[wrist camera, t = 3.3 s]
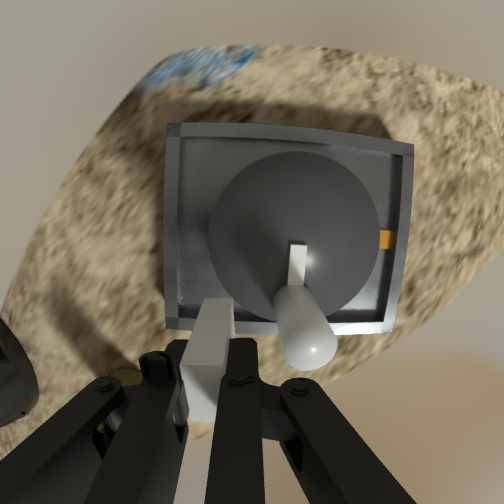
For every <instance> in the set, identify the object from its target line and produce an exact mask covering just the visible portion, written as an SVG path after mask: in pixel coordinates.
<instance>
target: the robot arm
mask: <svg viewBox="0 0 504 504" xmlns="http://www.w3.org/2000/svg"><path fill="white" fill-rule="evenodd" d="M138 360H139V364H140V368H141V372H142V376H143V379H142V381H141V383H140V384H137V385H130V386H122V382H121V381H120V380H119V379H118V378H116V377H111V376H104V377H100V378H97V379H95V380H94V381H92V382H91V383H90V384H88V385H87V386H86V387H85V388H84V389H83V390H81V391H80V392H79V393H78V394H77V395H76V396H74V397H73V398H72V399H71V400H70V401H69V402H68V403H66V404H65V405H64V406H63V407H62V408H61V409H59V410H58V411H57V412H56V413H55V414H54V415H53V416H51V417H50V418H49V419H48V420H47V421H46V422H44V423H43V424H42V425H41V426H40V427H39V428H38V429H36V430H35V431H34V432H33V433H32V434H31V435H29V436H28V437H27V438H26V439H25V440H24V441H23V442H21V443H20V444H19V445H18V446H17V447H16V448H15V449H13V450H12V451H11V452H10V453H9V454H8V455H7V456H5V457H4V458H3V459H2V460H1V461H0V504H173V502H174V497H175V492H176V487H177V483H178V478H179V473H180V468H181V464H182V459H183V454H184V449H185V445H186V441H187V436H188V431H189V428H188V422H187V418H188V414H189V415H190V420H191V421H195V422H215V426H214V433H213V440H212V449H211V456H210V464H209V471H208V479H207V487H206V495H205V503H204V504H265V490H264V471H263V470H264V469H263V448H262V438H265V439H271V440H276V441H279V442H280V446H281V448H282V450H283V452H284V454H285V456H286V458H287V460H288V462H289V464H290V466H291V468H292V470H293V472H294V474H295V476H296V478H297V480H298V482H299V484H300V486H301V488H302V489H303V492H304V493H305V495H306V497H307V499H308V501H309V503H310V504H417V503H416V502H415V501H414V500H413V499H412V498H411V496H410V495H409V494H408V493H407V492H406V491H405V489H404V488H403V487H402V486H401V485H400V484H399V482H398V481H397V480H396V479H395V478H394V477H393V475H392V474H391V473H390V472H389V471H388V469H387V468H386V467H385V466H384V465H383V463H382V462H381V461H380V460H379V459H378V458H377V456H376V455H375V454H374V453H373V451H372V450H371V449H370V448H369V447H368V446H367V444H366V443H365V442H364V440H363V439H362V438H361V437H360V436H359V434H358V433H357V432H356V431H355V429H354V428H353V427H352V426H351V424H350V423H349V422H348V421H347V420H346V418H345V417H344V416H343V414H342V413H341V412H340V411H339V410H338V408H337V407H336V406H335V405H334V403H333V402H332V401H331V400H330V398H329V397H328V396H327V394H326V393H325V392H324V391H323V389H322V388H321V387H320V386H319V384H318V383H316V382H315V381H314V380H311V379H308V378H301V377H299V378H292V379H289V380H286V381H285V382H284V383H283V384H282V385H281V387H278V386H273V385H269V384H267V383H265V382H263V381H262V380H261V379H260V377H259V371H258V352H257V342H256V341H255V340H254V339H253V338H235V327H234V312H233V298H204V301H203V304H202V306H201V309H200V312H199V314H198V317H197V319H196V322H195V325H194V327H193V330H192V333H191V335H190V338H189V340H187V339H175V340H173V341H172V342H171V343H169V344H168V345H167V347H166V349H165V351H152V352H148V353H146V354H144V355H142V356H141V357H140V358H139V359H138ZM38 398H39V389H38V383H37V380H36V376H35V374H34V371H33V369H32V366H31V364H30V362H29V360H28V358H27V356H26V355H25V353H24V351H23V349H22V348H21V346H20V345H19V343H18V342H17V340H16V339H15V338H14V336H13V335H12V334H11V333H10V331H9V330H8V329H7V328H6V327H5V326H4V325H3V324H2V323H1V322H0V428H1V427H3V426H5V425H8V424H10V423H12V422H14V421H16V420H18V419H20V418H23V417H25V416H26V415H27V414H29V412H30V411H31V410H32V409H33V408H34V406H35V405H36V404H37V402H38ZM101 423H102V425H103V428H102V429H101V430H100V431H98V430H97V427H98V426H99V425H100V424H101Z"/></svg>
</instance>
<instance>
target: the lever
mask: <svg viewBox="0 0 504 504" xmlns="http://www.w3.org/2000/svg"><path fill="white" fill-rule="evenodd" d="M379 246H380V225H379V219H378V214H377V211H376V208H375V205H374V202H373V200H372V198H371V196H370V194H369V192H368V191H367V189H366V188H365V186H364V185H363V183H362V182H361V181H360V180H359V179H358V178H357V177H356V176H355V175H354V174H353V173H352V172H351V171H350V170H349V169H347V168H346V167H345V166H343V165H341V164H340V163H338V162H337V161H335V160H332V159H330V158H328V157H326V156H322V155H319V154H316V153H310V152H304V151H290V152H281V153H277V154H273V155H269V156H267V157H264V158H262V159H259V160H257V161H255V162H254V163H252V164H250V165H249V166H247V167H246V168H244V169H243V170H242V171H241V172H239V173H238V174H237V175H236V176H235V177H234V178H233V179H232V180H231V181H230V182H229V184H228V185H227V186H226V188H225V189H224V190H223V192H222V193H221V195H220V197H219V199H218V201H217V203H216V205H215V208H214V211H213V213H212V217H211V221H210V226H209V251H210V257H211V261H212V264H213V267H214V271H215V273H216V275H217V277H218V279H219V281H220V283H221V284H222V286H223V287H224V289H225V290H226V291H227V292H228V294H229V295H230V296H231V297H232V298H233V299H234V300H235V301H236V302H237V303H238V304H239V305H241V306H242V307H243V308H245V309H246V310H248V311H249V312H251V313H253V314H255V315H257V316H259V317H262V318H265V319H268V320H271V321H276V322H277V325H278V330H279V335H280V339H281V344H282V349H283V354H284V357H285V359H286V361H287V362H288V363H289V365H291V366H292V367H294V368H296V369H299V370H303V371H310V370H315V369H318V368H321V367H322V366H324V365H326V364H327V363H328V362H329V361H330V360H331V359H332V358H333V356H334V355H335V352H336V350H337V338H336V335H335V334H334V332H333V330H332V328H331V327H330V325H329V323H328V321H327V320H326V318H325V317H326V316H328V315H330V314H332V313H334V312H336V311H338V310H339V309H341V308H342V307H344V306H345V305H346V304H347V303H349V302H350V301H351V300H352V299H353V298H354V297H355V296H356V295H357V294H358V293H359V292H360V290H361V289H362V288H363V287H364V285H365V284H366V282H367V280H368V279H369V277H370V275H371V273H372V271H373V269H374V266H375V263H376V260H377V257H378V252H379Z"/></svg>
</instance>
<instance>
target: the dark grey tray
mask: <svg viewBox="0 0 504 504" xmlns="http://www.w3.org/2000/svg"><path fill="white" fill-rule="evenodd" d="M290 151H304V152H310V153H316V154H319V155H322V156H326V157H328V158H330V159H332V160H335V161H337V162H338V163H340V164H341V165H343V166H345V167H346V168H347V169H349V170H350V171H351V172H352V173H353V174H354V175H355V176H356V177H357V178H358V179H359V180H360V181H361V182H362V183H363V185H364V186H365V188H366V189H367V191H368V192H369V194H370V196H371V198H372V200H373V202H374V205H375V208H376V211H377V214H378V219H379V225H380V246H379V252H378V257H377V260H376V263H375V266H374V269H373V271H372V273H371V275H370V277H369V279H368V280H367V282H366V284H365V285H364V287H363V288H362V289H361V290H360V292H359V293H358V294H357V295H356V296H355V297H354V298H353V299H352V300H351V301H350V302H349V303H347V304H346V305H345V306H344V307H342V308H341V309H339V310H338V311H336V312H334V313H332V314H330V315H328V316H326V317H325V318H326V320H327V321H328V323H329V325H330V327H331V328H332V330H333V332H334V334H335V335H342V334H372V333H392V328H393V324H394V320H395V315H396V310H397V305H398V300H399V295H400V290H401V284H402V278H403V272H404V266H405V259H406V252H407V244H408V236H409V227H410V217H411V205H412V192H413V172H414V145H413V144H409V143H404V142H399V141H394V140H389V139H383V138H378V137H372V136H366V135H360V134H354V133H347V132H340V131H332V130H324V129H315V128H306V127H295V126H284V125H270V124H252V123H220V122H188V123H167V133H166V149H165V168H164V195H163V271H164V299H165V318H166V329H178V330H190V331H192V330H193V327H194V325H195V322H196V319H197V317H198V314H199V312H200V309H201V306H202V304H203V301H204V298H232V297H231V296H230V295H229V294H228V292H227V291H226V290H225V289H224V287H223V286H222V284H221V283H220V281H219V279H218V277H217V275H216V273H215V271H214V267H213V264H212V261H211V257H210V251H209V226H210V221H211V217H212V213H213V211H214V208H215V205H216V203H217V201H218V199H219V197H220V195H221V193H222V192H223V190H224V189H225V188H226V186H227V185H228V184H229V182H230V181H231V180H232V179H233V178H234V177H235V176H236V175H237V174H238V173H239V172H241V171H242V170H243V169H244V168H246V167H247V166H249V165H250V164H252V163H254V162H255V161H257V160H259V159H262V158H264V157H267V156H269V155H273V154H277V153H281V152H290ZM233 312H234V327H235V333H241V334H272V335H279V330H278V325H277V322H276V321H271V320H268V319H265V318H262V317H259V316H257V315H255V314H253V313H251V312H249V311H248V310H246V309H245V308H243V307H242V306H241V305H239V304H238V303H237V302H236V301H235V300H234V299H233Z"/></svg>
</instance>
